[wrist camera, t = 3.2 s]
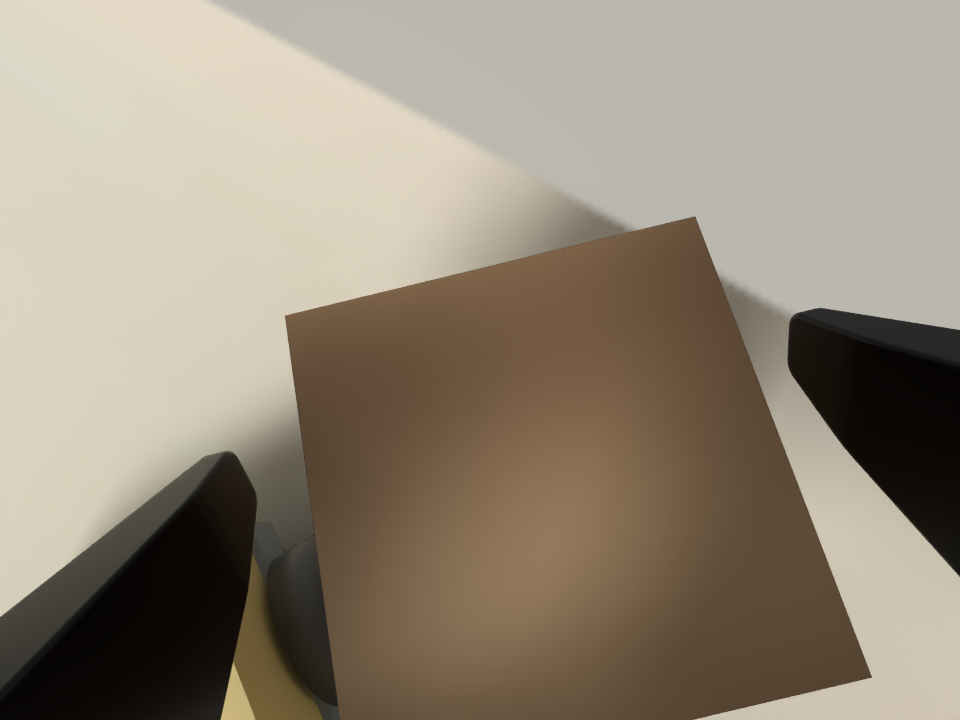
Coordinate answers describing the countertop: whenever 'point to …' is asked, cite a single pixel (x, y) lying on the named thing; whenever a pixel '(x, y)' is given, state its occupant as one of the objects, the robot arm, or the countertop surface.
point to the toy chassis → (282, 638)
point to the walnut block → (559, 496)
